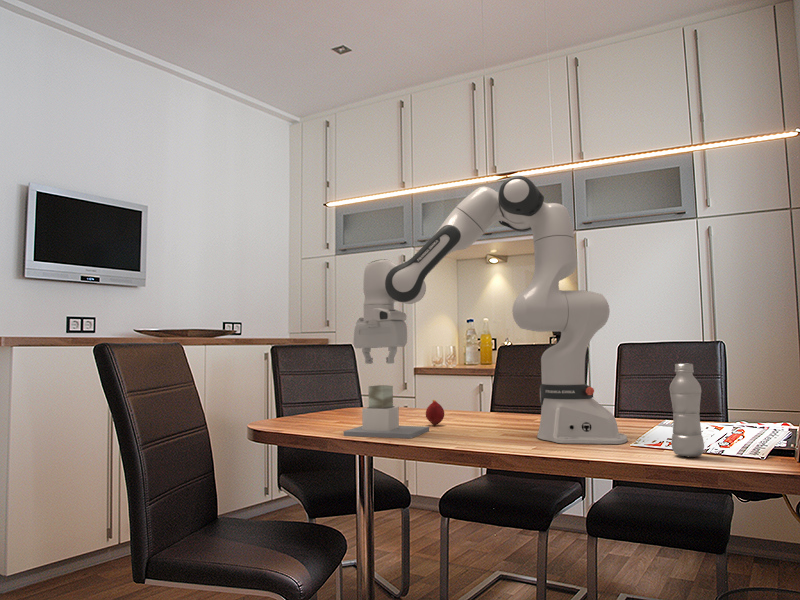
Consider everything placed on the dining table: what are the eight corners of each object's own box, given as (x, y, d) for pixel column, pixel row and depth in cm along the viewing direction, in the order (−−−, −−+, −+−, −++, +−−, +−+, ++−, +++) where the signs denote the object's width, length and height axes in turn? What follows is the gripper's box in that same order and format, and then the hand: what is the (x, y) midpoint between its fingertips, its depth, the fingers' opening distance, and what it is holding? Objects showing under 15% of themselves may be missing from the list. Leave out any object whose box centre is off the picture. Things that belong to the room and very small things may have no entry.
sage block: (392, 406, 179) (392, 385, 179) (382, 408, 175) (382, 386, 175) (378, 405, 182) (378, 385, 182) (368, 407, 178) (368, 386, 178)
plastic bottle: (694, 453, 138) (690, 363, 139) (711, 459, 131) (706, 364, 132) (666, 454, 137) (662, 363, 139) (681, 459, 131) (676, 364, 132)
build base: (429, 430, 181) (428, 405, 182) (410, 438, 166) (410, 410, 167) (366, 428, 188) (366, 403, 189) (343, 435, 173) (343, 408, 174)
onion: (444, 424, 195) (444, 398, 196) (444, 426, 190) (443, 400, 190) (426, 424, 196) (426, 399, 197) (425, 426, 190) (424, 400, 191)
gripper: (348, 317, 185) (348, 364, 184) (393, 312, 170) (394, 363, 169) (364, 318, 189) (365, 363, 188) (410, 313, 174) (411, 363, 173)
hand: (379, 363), depth 178 cm, fingers open, 8 cm apart
